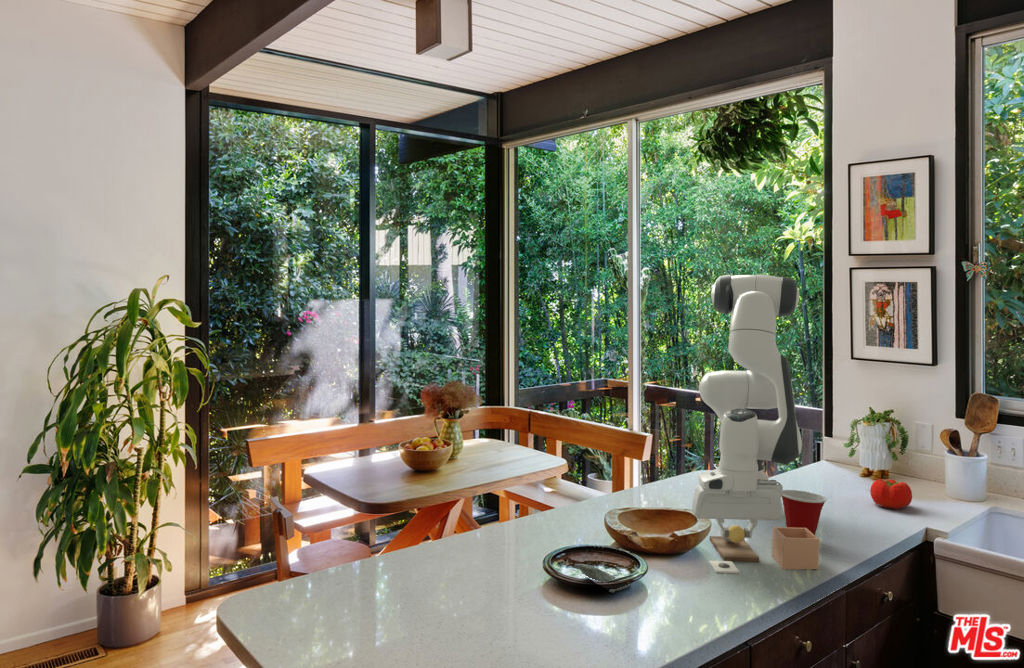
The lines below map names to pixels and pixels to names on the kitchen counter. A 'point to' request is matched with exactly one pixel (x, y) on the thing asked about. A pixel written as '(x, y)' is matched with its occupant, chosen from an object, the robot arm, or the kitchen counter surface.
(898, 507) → the tomato
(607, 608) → the kitchen counter surface
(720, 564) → the tile
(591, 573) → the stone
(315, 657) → the kitchen counter surface
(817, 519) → the plastic cup
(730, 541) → the grey ball
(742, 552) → the walnut board
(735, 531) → the ochre ball
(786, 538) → the terracotta open box
